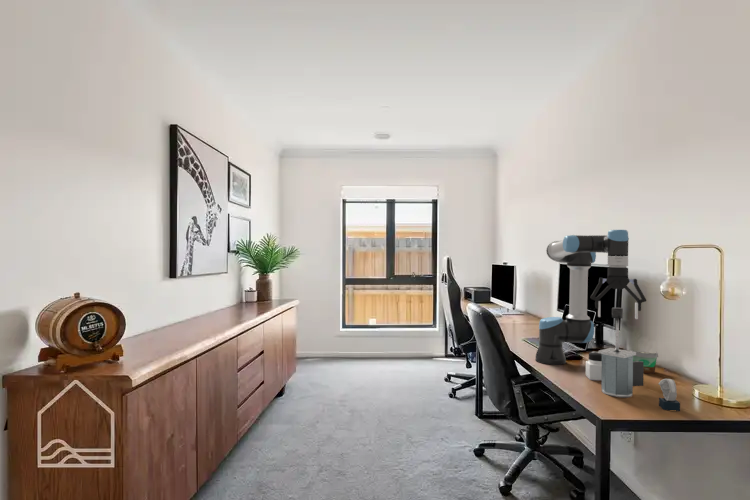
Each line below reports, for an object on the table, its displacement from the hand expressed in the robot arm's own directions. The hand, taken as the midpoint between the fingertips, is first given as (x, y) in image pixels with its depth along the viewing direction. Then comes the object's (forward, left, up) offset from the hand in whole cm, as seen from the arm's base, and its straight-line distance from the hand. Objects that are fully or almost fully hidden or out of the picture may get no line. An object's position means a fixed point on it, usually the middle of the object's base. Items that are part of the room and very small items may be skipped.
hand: (617, 317), depth 182 cm
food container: (-44, -7, -32) cm, 55 cm away
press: (-2, 0, -31) cm, 32 cm away
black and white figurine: (-14, -16, -32) cm, 38 cm away
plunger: (0, 0, -19) cm, 19 cm away
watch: (+2, +20, -32) cm, 37 cm away
